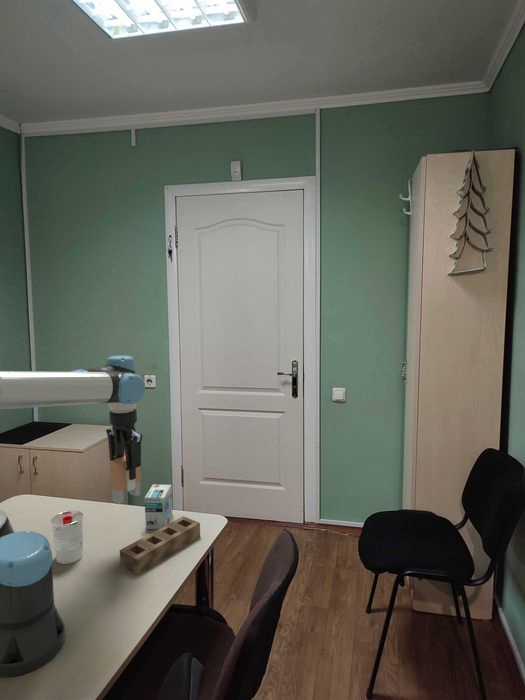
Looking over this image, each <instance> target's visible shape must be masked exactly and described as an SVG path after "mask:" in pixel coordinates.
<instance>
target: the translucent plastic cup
mask: <svg viewBox="0 0 525 700" xmlns="http://www.w3.org/2000/svg"><path fill="white" fill-rule="evenodd" d="M83 517H84V513H83V512H82V511H80V510H67V511H62V512H60V513H58V514H56V515H53V517H51V519H50V522H51V525H52V534H53V535H52V536H53V538H52V539H53V545H54V551H55V560H56V562H57V563H58V564H60V565H69V564H72V563H75V562H77V561H79V560H81V558H82V557H83V554H84V553H83V551H84V549H83V548H84V546H83V540H84V535H83V534H84V530H83V527H84V526H83Z"/></svg>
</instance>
